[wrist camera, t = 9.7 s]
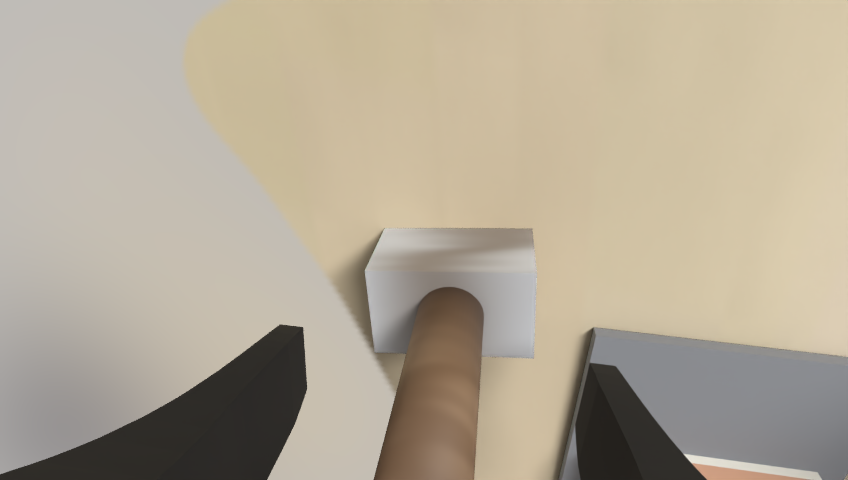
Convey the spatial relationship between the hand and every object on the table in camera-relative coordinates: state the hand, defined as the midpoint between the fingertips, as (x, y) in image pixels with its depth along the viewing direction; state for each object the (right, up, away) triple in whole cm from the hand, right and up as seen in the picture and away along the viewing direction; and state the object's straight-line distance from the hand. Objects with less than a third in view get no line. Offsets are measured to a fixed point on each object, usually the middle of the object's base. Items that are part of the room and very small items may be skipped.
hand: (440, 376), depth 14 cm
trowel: (+1, +2, +5) cm, 6 cm away
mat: (+10, -7, +9) cm, 15 cm away
